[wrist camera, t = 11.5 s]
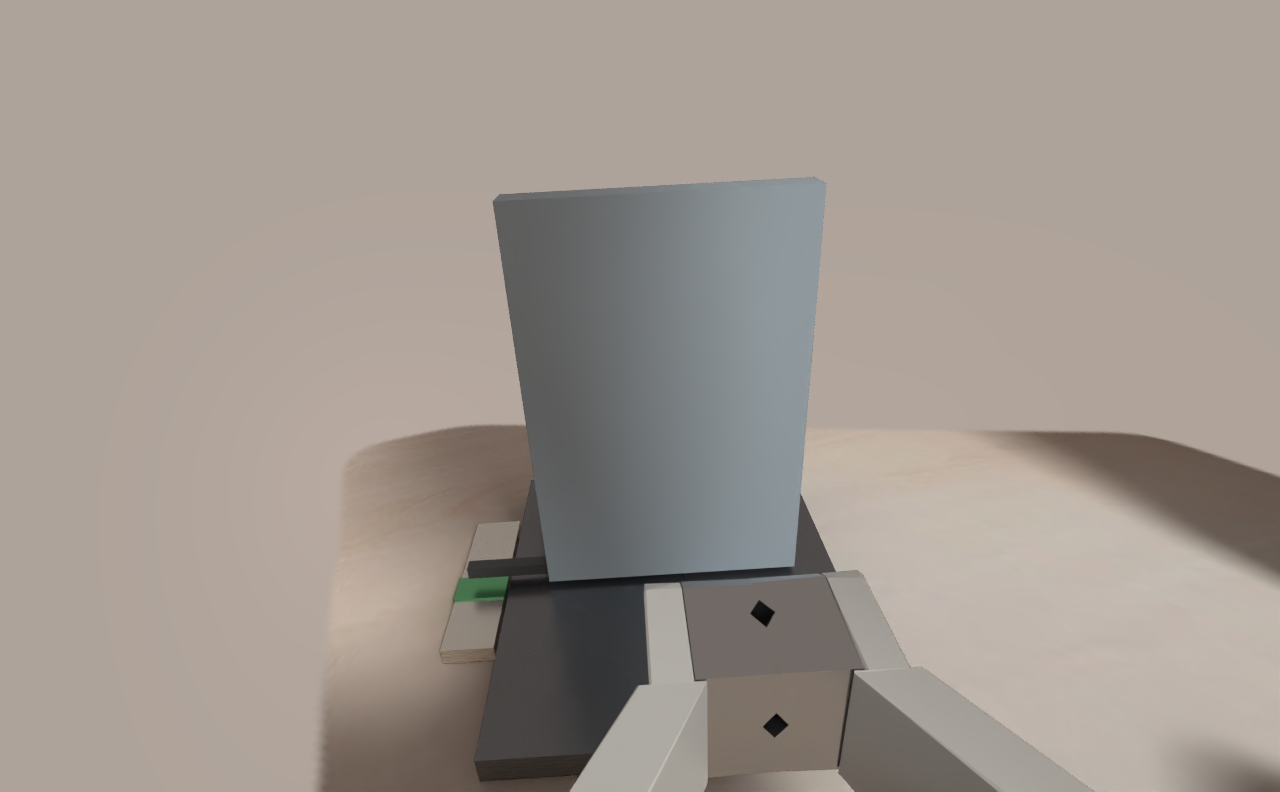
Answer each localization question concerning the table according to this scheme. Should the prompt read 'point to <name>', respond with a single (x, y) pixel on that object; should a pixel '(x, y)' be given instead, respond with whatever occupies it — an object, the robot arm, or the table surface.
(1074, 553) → the table surface
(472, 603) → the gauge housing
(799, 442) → the grey upright panel
